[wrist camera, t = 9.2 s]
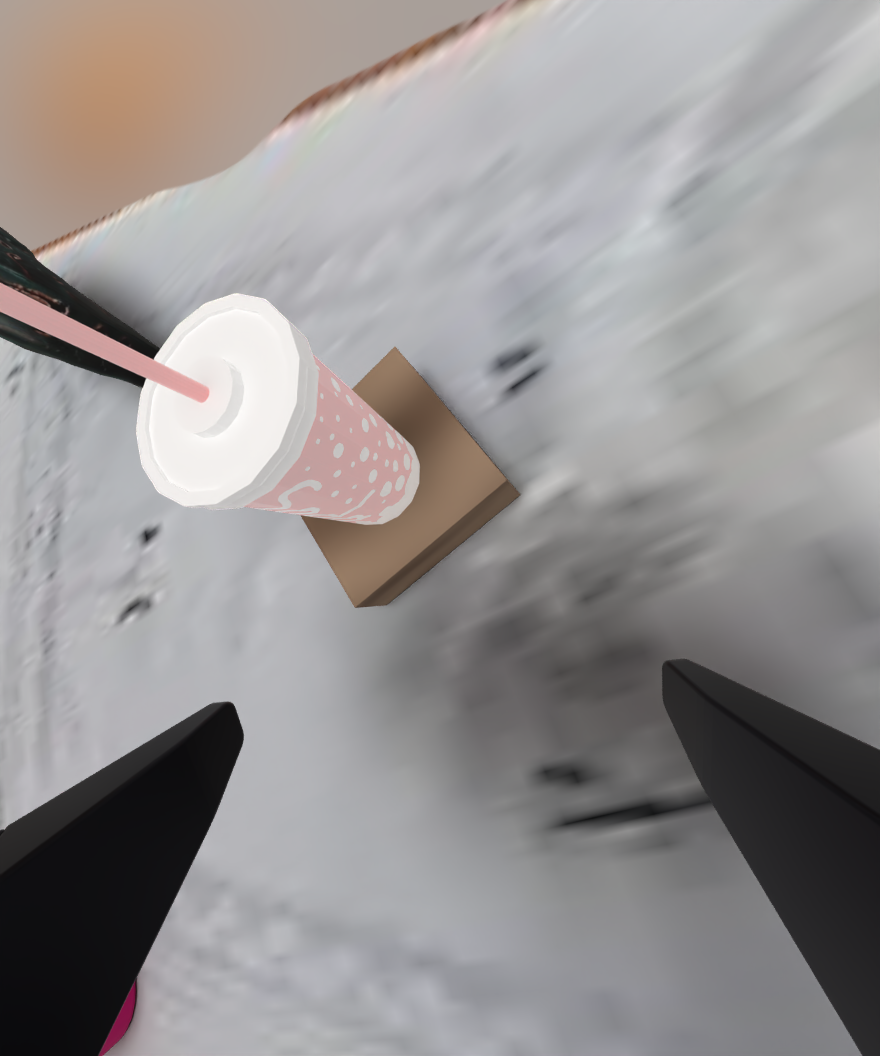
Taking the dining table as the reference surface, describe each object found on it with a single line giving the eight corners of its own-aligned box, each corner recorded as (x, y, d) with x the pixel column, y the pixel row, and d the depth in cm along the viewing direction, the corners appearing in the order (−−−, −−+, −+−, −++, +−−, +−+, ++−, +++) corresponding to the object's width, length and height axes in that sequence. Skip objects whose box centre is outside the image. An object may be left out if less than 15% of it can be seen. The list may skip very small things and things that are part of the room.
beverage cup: (311, 530, 21) (-176, 434, 8) (337, 411, 21) (-87, 134, 8) (420, 552, 18) (-19, 470, 5) (447, 419, 19) (97, 46, 6)
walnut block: (520, 494, 20) (506, 480, 17) (386, 605, 22) (354, 607, 19) (420, 375, 23) (394, 346, 20) (309, 481, 25) (272, 468, 22)
